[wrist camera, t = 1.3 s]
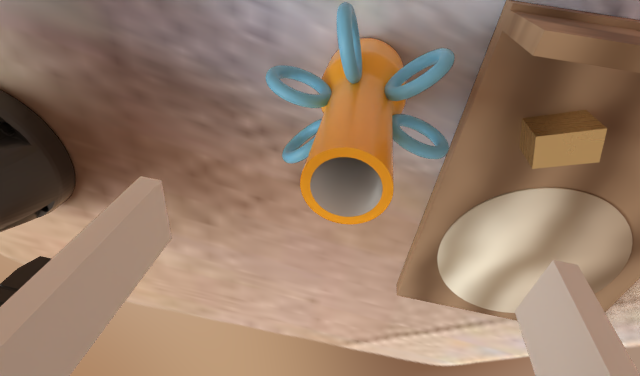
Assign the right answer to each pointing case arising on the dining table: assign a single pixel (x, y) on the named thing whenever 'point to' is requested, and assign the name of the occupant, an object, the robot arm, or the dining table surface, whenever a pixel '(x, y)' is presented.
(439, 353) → the dining table surface
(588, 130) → the wooden block
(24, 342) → the robot arm
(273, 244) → the dining table surface
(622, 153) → the board
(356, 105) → the cylinder
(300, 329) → the dining table surface
